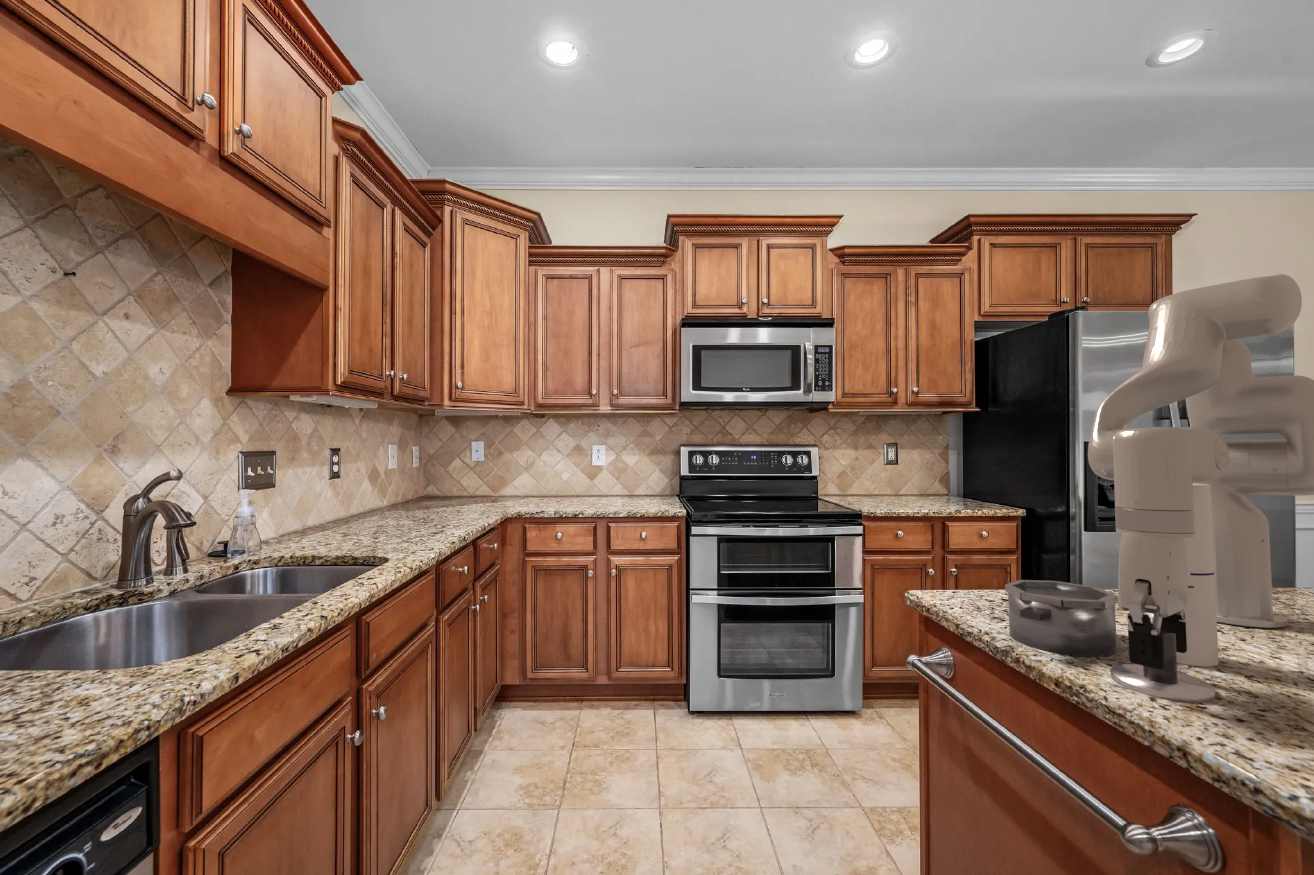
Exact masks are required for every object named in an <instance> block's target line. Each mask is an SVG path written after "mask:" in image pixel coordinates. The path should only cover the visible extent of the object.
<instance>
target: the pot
mask: <svg viewBox="0 0 1314 875" xmlns="http://www.w3.org/2000/svg"><path fill="white" fill-rule="evenodd" d="M1004 589H1005V592H1006V593H1007V594H1008V595H1007V597H1008V599H1007V600H1008V624H1009V626H1008V627H1009V628H1008V629H1009V630H1008V631H1009V637H1010V638H1012V639H1013V640H1014V641H1016V642H1018V643H1020V644H1023V645H1025V646H1028V647H1030V648H1033V649H1038V650H1041V651H1045V652H1050V653H1055V654H1060V655H1067V656H1074V657H1075V656H1076V657H1087V658H1089V657H1090V658H1093V657H1094V658H1095V657H1097V658H1099V657H1107V656H1112V655H1114V654H1116V653H1117V651H1118V647H1117V624H1116V623H1117V622H1116V621H1117V620H1116V604H1118V594H1117V595H1116V594H1114V593H1112V592H1110V591H1107V590H1104V589H1101V588H1099V587H1096V586H1089V585H1085V584H1079V583H1071V582H1066V581H1065V582H1064V581H1058V580H1057V581H1056V580H1038V579H1037V580H1032V579H1030V580H1029V579H1018V580H1016V581H1012V582H1009V583H1005V584H1004Z"/></svg>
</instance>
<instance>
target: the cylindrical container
mask: <svg viewBox="0 0 1314 875" xmlns="http://www.w3.org/2000/svg"><path fill="white" fill-rule="evenodd" d="M1193 507H1194V510H1193V511H1194V530H1195V532H1194V533H1195V537H1192V538H1184V542H1185V548H1186V551H1185V552H1186V563H1187V578H1188V601H1187V605H1186V607H1185V608H1184V612H1185V621H1183V622H1186V638H1187V651H1186V652H1185V653H1180V652H1176V656H1177V664H1182V665H1188V666H1194V667H1207V668H1208V667H1217V666H1218V665H1219V664H1220V663H1219V644H1218V643H1219V642H1218V622H1217V619H1216V597H1215V575H1214V554H1213V532H1212V511H1211V489H1210V485H1207V484H1193ZM1149 618H1150V619H1151V623H1152V621H1153V618H1152V617H1149ZM1179 621H1180V620H1179Z"/></svg>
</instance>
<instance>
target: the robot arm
mask: <svg viewBox="0 0 1314 875" xmlns="http://www.w3.org/2000/svg"><path fill="white" fill-rule="evenodd" d="M1302 303H1303V298H1302V293H1301V289H1300V287H1299V285H1298V283H1297V282H1296V280H1294V278H1293V277H1292V276H1290V275H1287V274H1283V273H1282V274H1281V273H1280V274H1274V275H1268V276H1267V275H1266V276H1258V277H1251V278H1245V279H1241V280H1236V281H1231V282H1225V283H1219V284H1213V285H1208V286H1202V287H1196V288H1192V289H1187V290H1183V291H1179V292H1176V293H1174V294H1170V295H1166V296H1163V297H1161V298H1159V299H1157V300H1155V301H1153V303H1151V304H1150V305H1149V308H1148V311H1147V312H1148V313H1147V316H1148V321H1149V325H1148V330H1147V331H1148V333H1147V335H1146V336H1147V337H1146V342H1145V349H1144V354H1143V359H1142V366H1141V369H1140V370H1139V371H1138V372H1137V373H1135V374H1134V375H1132V376H1130V377H1129V378H1127V379H1126V380H1125V381H1124V382H1122V383H1121V384H1120V385H1119V386H1117V387H1116V388H1115V389H1114V390H1113V391H1112V392H1110V393H1109V395H1107V396H1106V397H1105V399H1104V400H1102V401H1101V403H1100V404H1099V406H1098V407H1097V408H1096V412H1095V414H1094V417H1093V421H1092V426H1091V429H1090V433H1089V434H1090V435H1089V439H1088V440H1089V441H1088V448H1087V459H1088V460H1087V461H1088V465H1089V467H1090V469H1091V470H1092V472H1093V473H1094V474H1095V475H1096V476H1098V477H1100V478H1101V479H1103V480H1109V481H1114V483H1113V484H1114V485H1113V486H1114V516H1115V532H1116V533H1119V534H1121V536H1120V542H1119V550H1118V551H1119V552H1118V569H1117V570H1118V573H1117V580H1118V581H1117V585H1118V586H1117V596H1118V603H1117V606H1118V608H1119V609H1120V610H1122V611H1125V612H1129V613H1128V614H1127V619H1128V622H1127V633H1128V635H1127V636H1128V637H1127V640H1128V659H1129V662H1130V663H1132V664H1136V665H1143V666H1147V667H1151V668H1156V669H1163V668H1164V642H1163V636H1162V635H1159V633H1160V629H1164V630H1168V631H1171V632H1174V633H1175V634H1176V652H1180V653H1185V652H1186V651H1187V638H1186V622H1183V621H1185V612H1184V608H1185V607H1186V605H1187V601H1188V578H1187V563H1186V552H1185V551H1186V548H1185V542H1184V538H1192V537H1195V533H1194V532H1195V530H1194V511H1193V510H1194V507H1193V484H1207V485H1210V489H1211V511H1212V532H1213V554H1214V575H1215V597H1216V619H1217V623H1221V624H1228V625H1233V626H1242V627H1252V628H1262V629H1263V628H1265V629H1276V628H1277V629H1279V628H1285V627H1287V626H1288V618H1287V617H1286V616H1284V615H1282V614H1280V613H1277V612H1275V611H1274V605H1273V604H1274V603H1273V584H1272V583H1273V582H1272V564H1271V561H1272V560H1271V544H1270V543H1271V542H1270V541H1271V540H1270V524H1269V521H1268V517H1267V516H1266V514H1264V512H1262V510H1261V509H1260V508H1258V507H1257V506H1256V505H1255V504H1254V503H1252V502H1251V501H1250V500H1249V499H1247V497H1245V496H1248V495H1250V496H1251V495H1265V496H1266V495H1268V496H1270V495H1271V496H1297V497H1298V496H1302V497H1303V496H1314V379H1313V378H1311V377H1308V376H1305V375H1294V374H1293V375H1279V376H1278V375H1277V376H1266V377H1265V376H1264V377H1256V376H1254V374H1253V369H1252V360H1251V359H1252V358H1251V352H1250V350H1249V348H1248V346H1247V345H1246V344H1245V343H1244V342H1243V341H1241V340H1240V339H1245V338H1254V337H1262V336H1268V335H1269V336H1270V335H1275V334H1280V333H1283V332H1284V331H1286V330H1287V329H1289V328H1290V327H1292V326H1293V325H1294V324H1295V323H1296V321H1297V320H1298V318H1299V317H1300V313H1301V311H1302V306H1303V304H1302ZM1183 400H1185V408H1186V413H1187V417H1188V421H1189V425H1190V426H1180V427H1179V426H1178V427H1177V426H1175V427H1174V426H1148V427H1147V426H1145V427H1144V426H1143V427H1141V426H1140V427H1128V428H1126V427H1127V426H1129V424H1130V423H1131V422H1133V421H1134V420H1136V419H1138V418H1139V417H1142V416H1143V415H1145V414H1148V413H1149V412H1153V411H1155V410H1157V409H1159V408H1164V407H1166V406H1169V405H1171V404H1174V403H1177V402H1180V401H1183ZM1256 434H1257V435H1258V434H1259V435H1263V434H1264V435H1265V434H1267V435H1268V434H1278V435H1280V436H1282V437H1283V438H1277V439H1276V438H1275V439H1273V438H1271V439H1253V438H1252V439H1251V438H1250V439H1223V438H1222V437H1221V435H1256ZM1149 617H1152V618H1153V621H1152V623H1151V619H1150V618H1149ZM1179 620H1180V621H1179Z"/></svg>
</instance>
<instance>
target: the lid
mask: <svg viewBox="0 0 1314 875" xmlns="http://www.w3.org/2000/svg"><path fill="white" fill-rule="evenodd" d="M1159 635H1162V636H1163V642H1164V668H1163V669H1156V668H1151V667H1147V666H1143V665H1139V664H1135V663H1132V664H1131V663H1128V664H1126V663H1125V664H1123V663H1122V664H1117V665H1114V666H1113V665H1112V667H1110V678H1111V679H1112V680H1113V681H1114V682H1115V683H1116V684H1118V685H1120V686H1121V687H1124V688H1126V689H1129V690H1131V691H1133V692H1137V693H1140V694H1142V695H1143V694H1144V695H1146V696H1150V697H1154V698H1159V699H1162V700H1168V701H1174V702H1181V703H1190V702H1191V703H1192V702H1193V703H1194V704H1201V703H1209V702H1213V701H1214V700H1216V697H1217V696H1216V688H1215V687H1214V686H1213V685H1212V684H1210V683H1209V682H1207V681H1206V680H1203V679H1200V678H1198V677H1197V676H1193V675H1190V674H1188V673H1184V672H1181V671H1178V663H1177V656H1176V634H1175V633H1174V632H1171V631H1168V630H1164V629H1160V633H1159Z"/></svg>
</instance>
